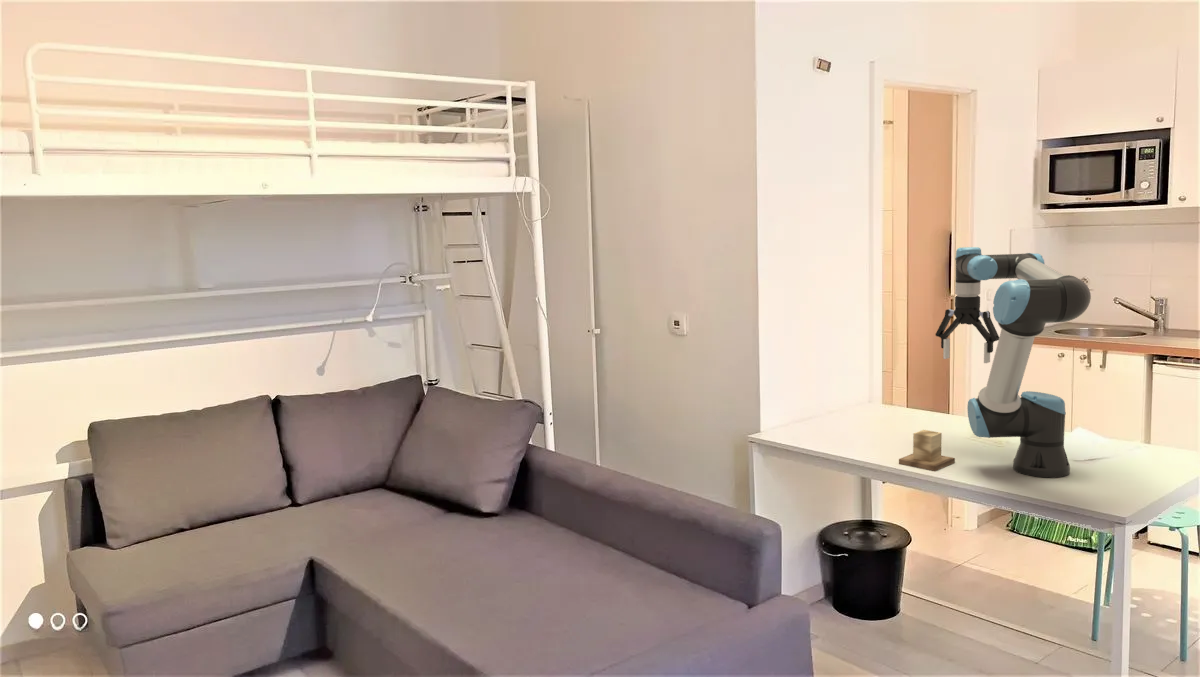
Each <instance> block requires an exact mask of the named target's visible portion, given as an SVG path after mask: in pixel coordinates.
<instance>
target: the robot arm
mask: <svg viewBox="0 0 1200 677" xmlns="http://www.w3.org/2000/svg"><path fill="white" fill-rule="evenodd" d="M954 259H955V276H954V278H955V279H954V280H955V285H954V286H955V288H954V289H955V290H954V294H955V295H956V296H955V297H954V307H955V308H954V309H952V308H948V309H945V312H944V317H943V319H942V320H941V322H940V324H939V326H938V329H937V331H936V333H935V337H938V338H940V348H941V349H943V353H942V354H943V355H942V356H943V357H942V358H943V360H948V359H950V355H951V354H950V351H951V347H950V346H951V339H950V338H949V336H950V335H951V334H952V333H953V332H954V331H955V330H956V328H957V327H958V326H959V325H965V324H966V325H968V326H969V325H970V326H971V325H973V327H974V328H976V330H977V331H978V332H979V333H980V335H981V336H982V337H983V339H984V340H985V342H984V343H983V344H984V345H983V364H989V363H991V353H993V352H994V343H995V342H997V345H996V348H995V352H994V353H995V354H994V357H993V361H992V364H991V369H990V373H989V376H988V379H987V383H986V386H984V387H983V388H981V389H980V390H979V392H978V396H977V398H975V397H971V398H969V399H968V401H967V408H966V409H967V417H968V423H969V426H970V429H971V431H972V433H973V434H974V435H975V436H976V437H977V438H988V439H991V438H1019V439H1020V440H1019V445H1018V448H1017V451H1016V454H1015V457H1014V458H1013V461H1012V469H1013V470H1014V471H1015V472H1017V473H1019V474H1023V475H1026V476H1029V477H1038V478H1062V477H1066V476H1068V475H1070V473H1071V472H1070V469H1071V466H1070V462H1069V459H1068V455H1067V452H1066V450H1065V428H1066V426H1065V425H1066V403H1065V400H1064V399H1063V398H1062V397H1060V396H1057V395H1054V394H1050V393H1044V392H1039V391H1030V390H1029V391H1028V390H1027V391H1022V392H1021V394H1020V395H1019V392H1020V388H1021V385H1022V382H1023V378H1024V376H1025V375H1024V374H1025V371H1026V368H1027V365H1028V361H1029V358H1030V355H1031V353H1032V352H1031V351H1032V348H1033V344H1034V342H1035V341H1034V340H1035V338H1036V337H1037V336H1039V335H1041V334H1042V333H1043V331H1044V330H1045V329H1044V328H1045V326H1046V324H1047V323H1050V324H1051V323H1067V322H1070V321H1073V320H1076V319H1077V318H1078V317H1080V316H1081V315H1083V314H1084V313H1085V312H1086V310H1087V309H1088V307H1090V306H1089V305H1090V303H1091V300H1092V298H1091V297H1092V296H1091V295H1092V294H1091V291H1090V287H1089V286H1088V285H1087V284H1086V282H1084V281H1083V280H1082V279H1080V278H1078V277H1077V276H1074V275H1070V274H1069V275H1066V274H1063V273H1061V272H1059V271H1058V270H1055V269H1054V268H1052V267H1050V266H1049V265H1046V264H1045V263H1046V262H1045V259H1044V258H1043V255H1041V254H1040V253H1033V252H1032V253H1031V252H1026V253H1010V254H1009V253H1008V254H1007V253H1004V254H1000V253H999V254H982V249H981V247H976V246H967V247H966V246H965V247H964V246H963V247H959V248H957V249H956V251H955V258H954ZM1003 279H1004V280H1006V279H1015V280H1006V281H1004V282H1003V283H1001V284H1000V285H999V287H998V288H997V290H996V291H995V293H994V297H993V307H992V314H993V317H994V320H995V321H996V322H997V324H998V326H999V327H1000V329H1001V330H1000V334H999V333H998V332H997V329H996V327H995V325H994V323H993V321H992V319H991V312H990V311H989V310H986V311H981V310H980V309H981V297H980V294H981V282H982V281H988V280H1003ZM953 316H955V319H954V320H953V321H952V323H951V324H950V325H949V322H950V321H951V319H952V317H953ZM979 318H982V320H983V322H984V324H985V326H984V325H983V323H982V321H981V320H980V319H979ZM948 325H949V326H948ZM947 326H948V327H947Z"/></svg>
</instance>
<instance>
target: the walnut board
mask: <svg viewBox="0 0 1200 677" xmlns="http://www.w3.org/2000/svg"><path fill="white" fill-rule="evenodd" d="M955 463H956V458H955V457H951V456H946V455H942V454H941V458H940V459H938V460H935V461H933V462H928V461H923V460H918V459H913V453H910V454H907V455H906V456H903V457H901V458H898V464H899V465H903V466H908V467H913V468H917V469H923V470H927V471H932V472H936V471H939V470H941V469H943V468H946V467H948V466H950V465H954V464H955Z"/></svg>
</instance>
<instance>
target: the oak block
mask: <svg viewBox="0 0 1200 677" xmlns="http://www.w3.org/2000/svg"><path fill="white" fill-rule="evenodd" d="M942 433H943V432H938V431H933V430H928V429H922V430H919V431H916V432H914V433H912V435H913V440H912V441H913V444H912V454H913V459H918V460H923V461H928V462H933V461H935V460H938V459H940V458H941V455H942V439H943V438H942V437H943V435H942Z"/></svg>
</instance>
